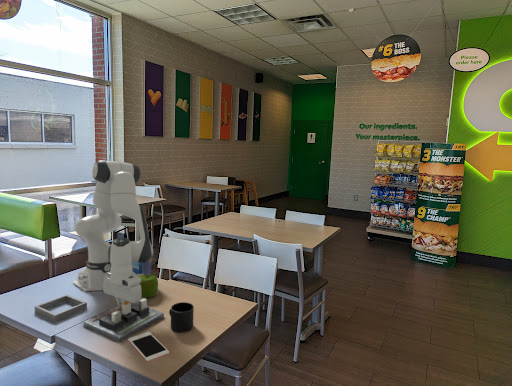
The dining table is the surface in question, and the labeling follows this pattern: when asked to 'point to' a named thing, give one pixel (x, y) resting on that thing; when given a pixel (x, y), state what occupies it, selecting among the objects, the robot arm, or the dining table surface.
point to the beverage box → (142, 268)
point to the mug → (181, 317)
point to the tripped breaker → (126, 308)
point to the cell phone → (148, 346)
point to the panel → (124, 321)
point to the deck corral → (54, 317)
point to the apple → (148, 285)
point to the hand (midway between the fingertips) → (121, 307)
